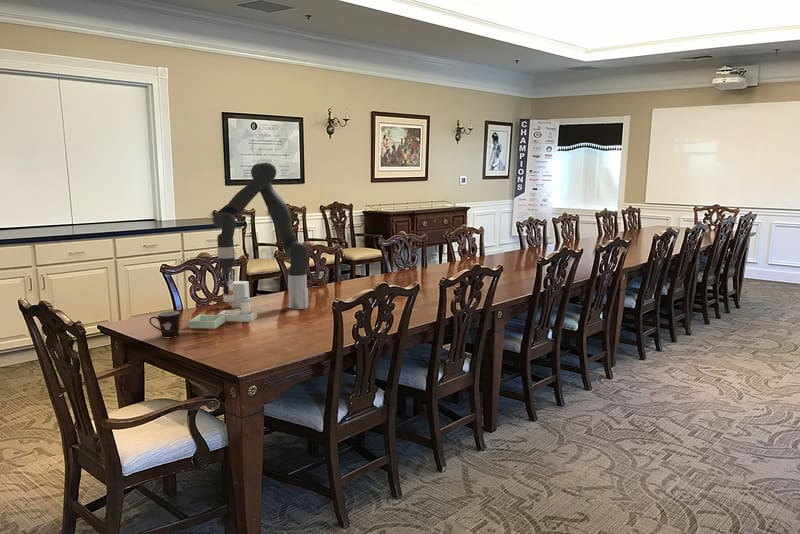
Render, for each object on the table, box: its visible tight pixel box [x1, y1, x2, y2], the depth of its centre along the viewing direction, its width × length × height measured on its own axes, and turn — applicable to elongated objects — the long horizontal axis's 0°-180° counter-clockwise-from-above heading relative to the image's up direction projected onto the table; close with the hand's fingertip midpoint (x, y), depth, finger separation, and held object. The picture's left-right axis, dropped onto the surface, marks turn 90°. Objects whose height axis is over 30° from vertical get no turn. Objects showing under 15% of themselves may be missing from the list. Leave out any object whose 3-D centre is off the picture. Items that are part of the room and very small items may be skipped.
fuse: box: [240, 296, 252, 315], centre depth 286 cm, size 5×5×10 cm
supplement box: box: [231, 280, 250, 309], centre depth 316 cm, size 7×7×13 cm
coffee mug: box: [148, 310, 180, 337], centre depth 262 cm, size 12×9×10 cm
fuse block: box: [216, 309, 258, 323], centre depth 287 cm, size 16×8×4 cm, turn 84°
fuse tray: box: [187, 314, 226, 332], centre depth 277 cm, size 12×12×4 cm
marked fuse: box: [222, 279, 234, 303], centre depth 285 cm, size 5×5×10 cm
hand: (228, 292), depth 285 cm, fingers closed on marked fuse, 4 cm apart
